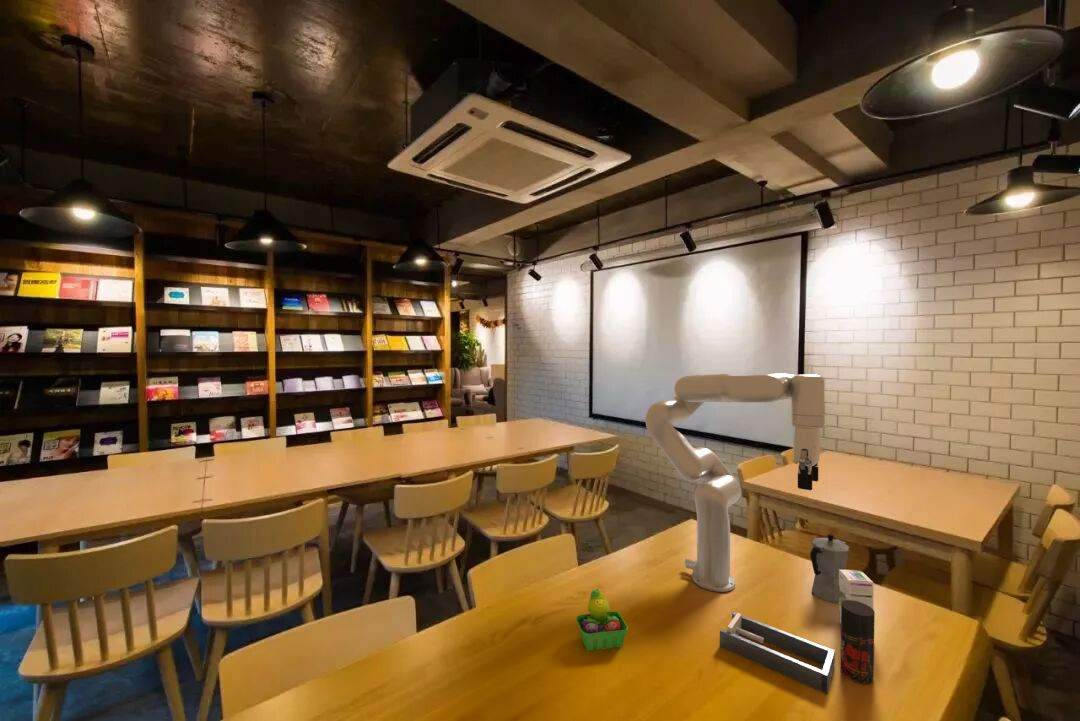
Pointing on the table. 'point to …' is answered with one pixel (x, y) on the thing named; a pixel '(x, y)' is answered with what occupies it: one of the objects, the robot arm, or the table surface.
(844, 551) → the coffeepot
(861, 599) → the syrup box
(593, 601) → the fruit basket
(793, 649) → the frame
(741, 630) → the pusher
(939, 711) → the table surface
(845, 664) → the deodorant
